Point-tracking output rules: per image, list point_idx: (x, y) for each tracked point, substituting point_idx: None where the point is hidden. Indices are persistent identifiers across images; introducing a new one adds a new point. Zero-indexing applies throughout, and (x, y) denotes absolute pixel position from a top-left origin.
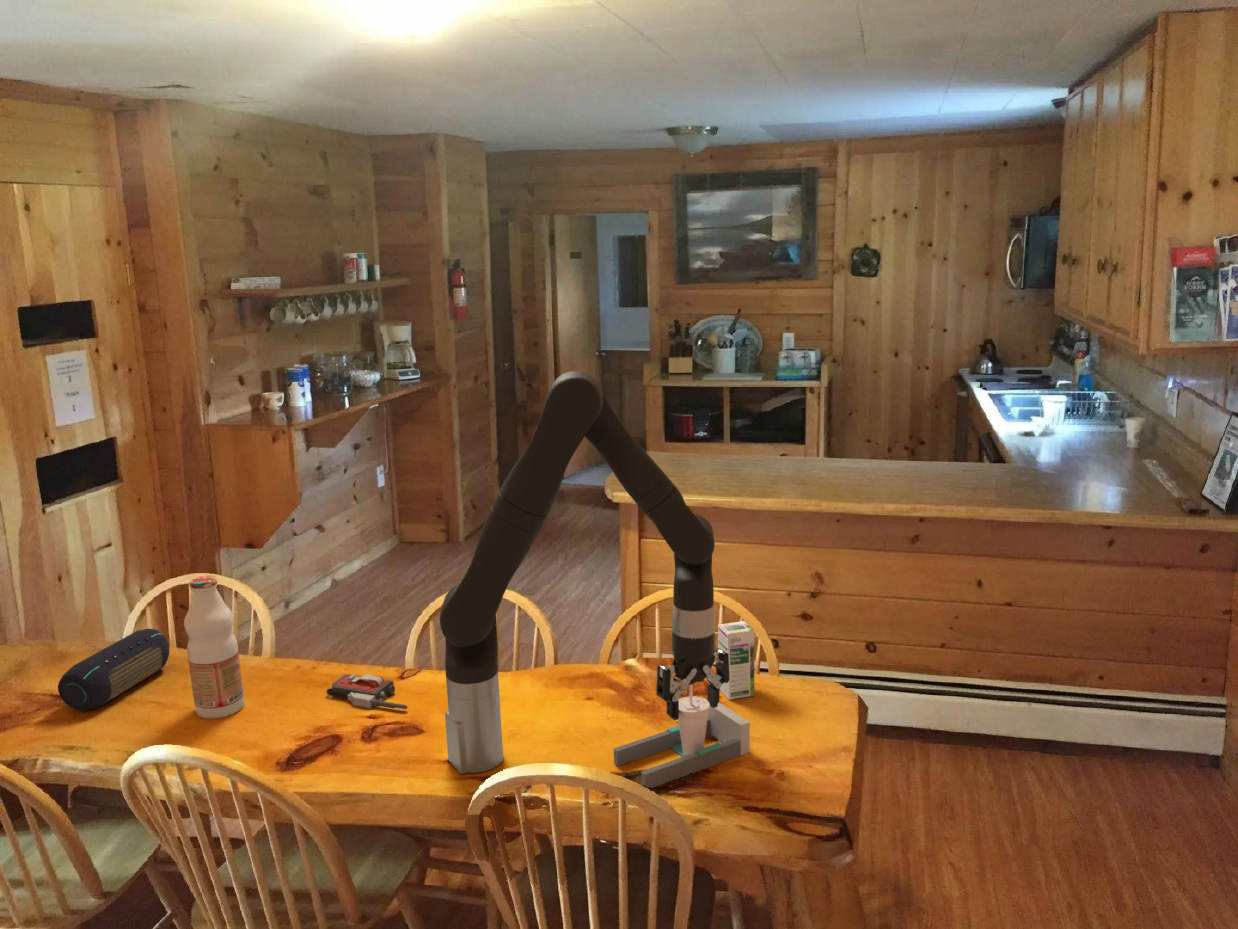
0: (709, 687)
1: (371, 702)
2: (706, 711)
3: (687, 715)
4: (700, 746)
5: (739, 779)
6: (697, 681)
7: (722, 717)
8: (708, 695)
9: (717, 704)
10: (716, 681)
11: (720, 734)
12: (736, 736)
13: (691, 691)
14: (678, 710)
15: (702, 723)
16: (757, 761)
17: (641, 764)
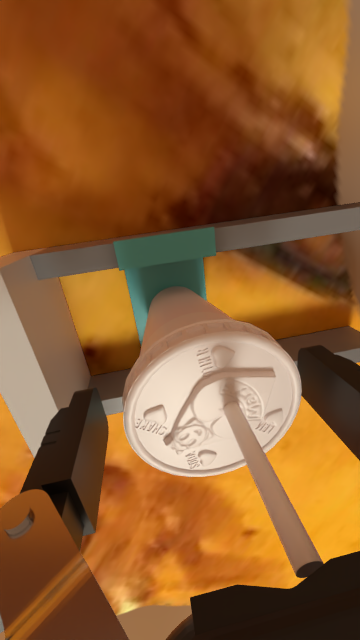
0: (90, 514)
1: None
2: (172, 342)
3: (276, 343)
4: (173, 293)
5: (110, 110)
6: (279, 594)
7: (53, 376)
8: (101, 463)
9: (72, 398)
10: (27, 572)
11: (74, 349)
12: (36, 283)
13: (273, 482)
14: (332, 371)
15: (186, 315)
16: (3, 190)
17: (303, 315)
